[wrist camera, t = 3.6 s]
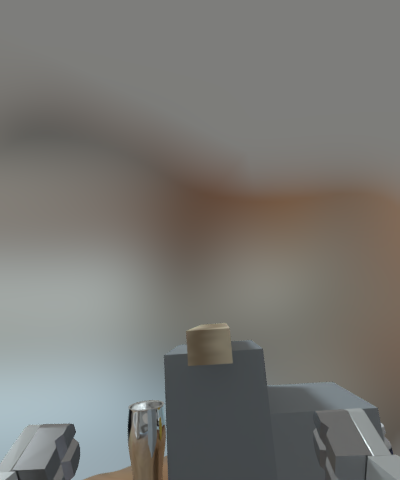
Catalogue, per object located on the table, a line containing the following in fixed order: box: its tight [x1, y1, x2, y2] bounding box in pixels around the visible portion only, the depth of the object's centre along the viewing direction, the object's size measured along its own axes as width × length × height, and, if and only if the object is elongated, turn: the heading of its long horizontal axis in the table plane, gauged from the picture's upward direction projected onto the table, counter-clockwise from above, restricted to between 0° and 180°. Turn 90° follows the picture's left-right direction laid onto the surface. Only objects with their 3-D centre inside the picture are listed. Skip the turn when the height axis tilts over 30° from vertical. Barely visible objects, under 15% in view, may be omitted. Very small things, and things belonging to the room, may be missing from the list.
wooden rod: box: [186, 323, 233, 366], centre depth 39 cm, size 4×24×3 cm, turn 176°
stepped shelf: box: [164, 340, 384, 480], centre depth 39 cm, size 24×14×26 cm, turn 86°
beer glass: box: [128, 400, 166, 480], centre depth 54 cm, size 7×7×15 cm
